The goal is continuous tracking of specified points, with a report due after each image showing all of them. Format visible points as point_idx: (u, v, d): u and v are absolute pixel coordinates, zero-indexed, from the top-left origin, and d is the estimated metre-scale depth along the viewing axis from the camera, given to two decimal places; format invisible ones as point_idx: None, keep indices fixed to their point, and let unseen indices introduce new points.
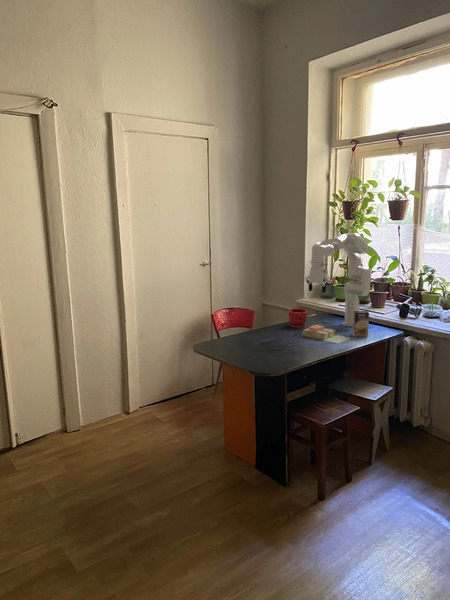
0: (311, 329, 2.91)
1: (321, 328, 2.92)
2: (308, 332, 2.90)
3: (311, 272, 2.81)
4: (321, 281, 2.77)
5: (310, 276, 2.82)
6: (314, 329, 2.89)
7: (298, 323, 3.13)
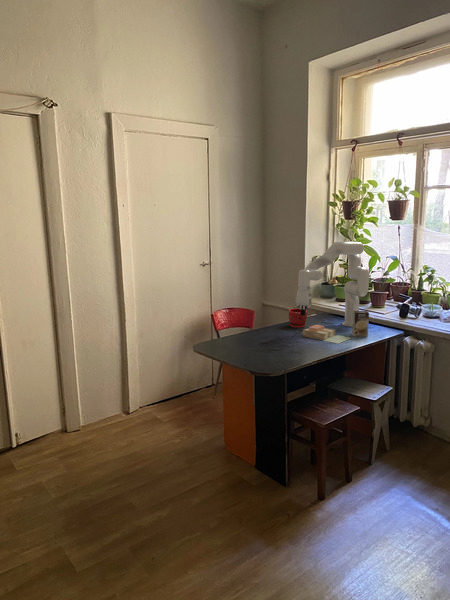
0: (311, 329, 2.91)
1: (321, 328, 2.92)
2: (308, 332, 2.90)
3: (298, 295, 2.97)
4: (307, 304, 2.93)
5: (297, 299, 2.98)
6: (314, 329, 2.89)
7: (298, 323, 3.13)
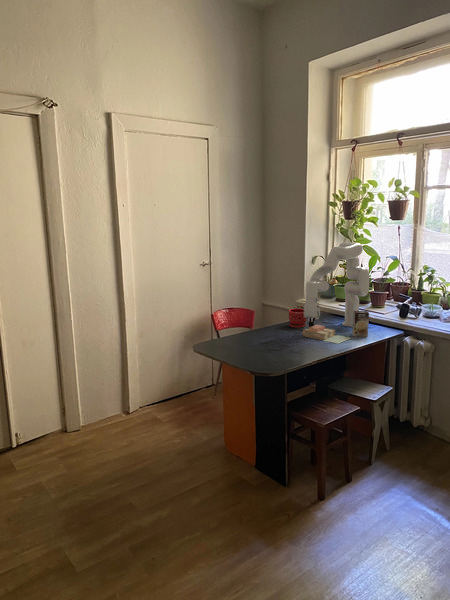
0: (312, 329, 2.91)
1: (322, 328, 2.92)
2: (308, 332, 2.90)
3: (305, 307, 2.94)
4: (315, 316, 2.90)
5: (304, 310, 2.95)
6: (315, 329, 2.89)
7: (298, 323, 3.13)
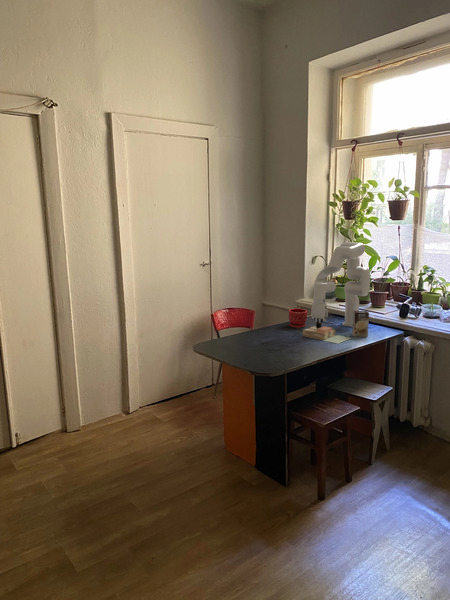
0: (319, 331, 2.86)
1: (329, 330, 2.88)
2: (308, 332, 2.90)
3: (313, 308, 2.90)
4: (322, 317, 2.86)
5: (312, 312, 2.91)
6: (322, 331, 2.85)
7: (298, 323, 3.13)
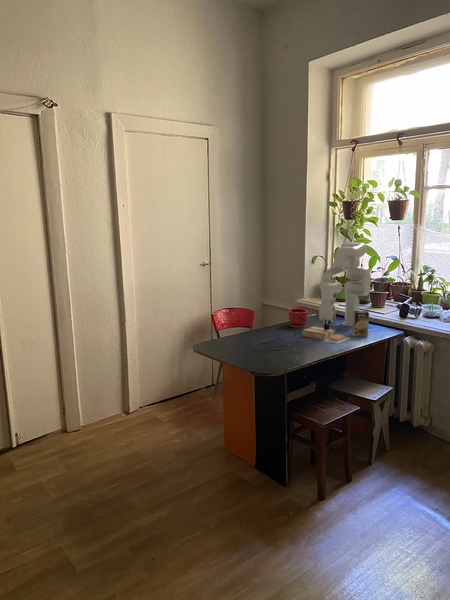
0: (334, 339, 2.79)
1: None
2: (308, 332, 2.90)
3: (321, 309, 2.86)
4: (330, 318, 2.82)
5: (320, 313, 2.87)
6: (331, 339, 2.81)
7: (298, 323, 3.13)
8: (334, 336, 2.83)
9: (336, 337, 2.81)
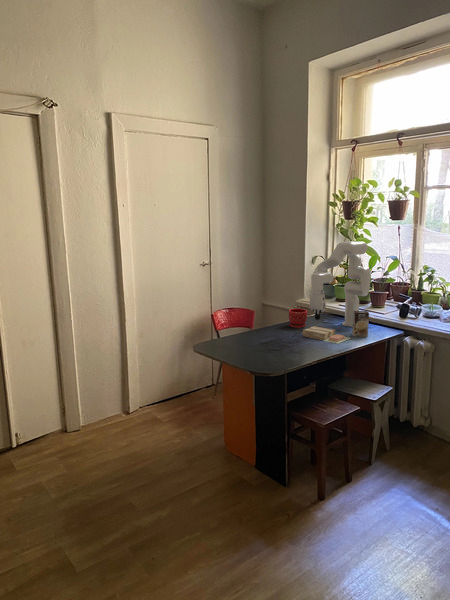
0: (334, 339, 2.79)
1: None
2: (308, 332, 2.90)
3: (311, 299, 2.91)
4: (321, 308, 2.87)
5: (310, 303, 2.92)
6: (331, 339, 2.81)
7: (298, 323, 3.13)
8: (334, 336, 2.83)
9: (336, 337, 2.81)
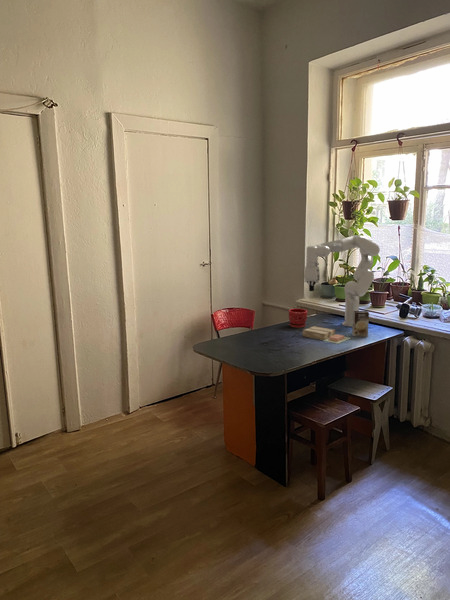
0: (334, 339, 2.79)
1: None
2: (308, 332, 2.90)
3: (306, 271, 3.04)
4: (315, 279, 3.00)
5: (305, 275, 3.05)
6: (331, 339, 2.81)
7: (298, 323, 3.13)
8: (334, 336, 2.83)
9: (336, 337, 2.81)
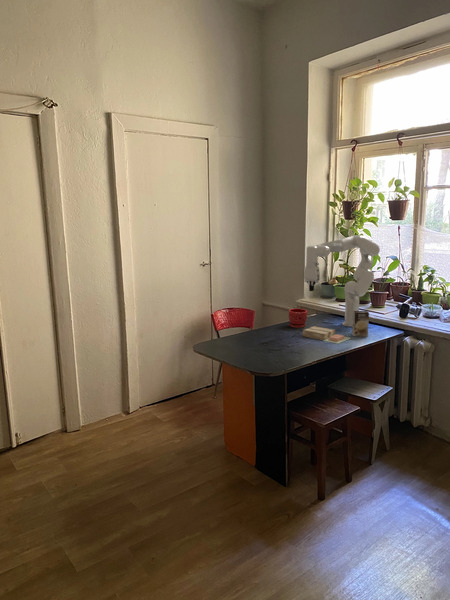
0: (334, 339, 2.79)
1: None
2: (308, 332, 2.90)
3: (306, 271, 3.04)
4: (315, 279, 3.00)
5: (305, 275, 3.05)
6: (331, 339, 2.81)
7: (298, 323, 3.13)
8: (334, 336, 2.83)
9: (336, 337, 2.81)
